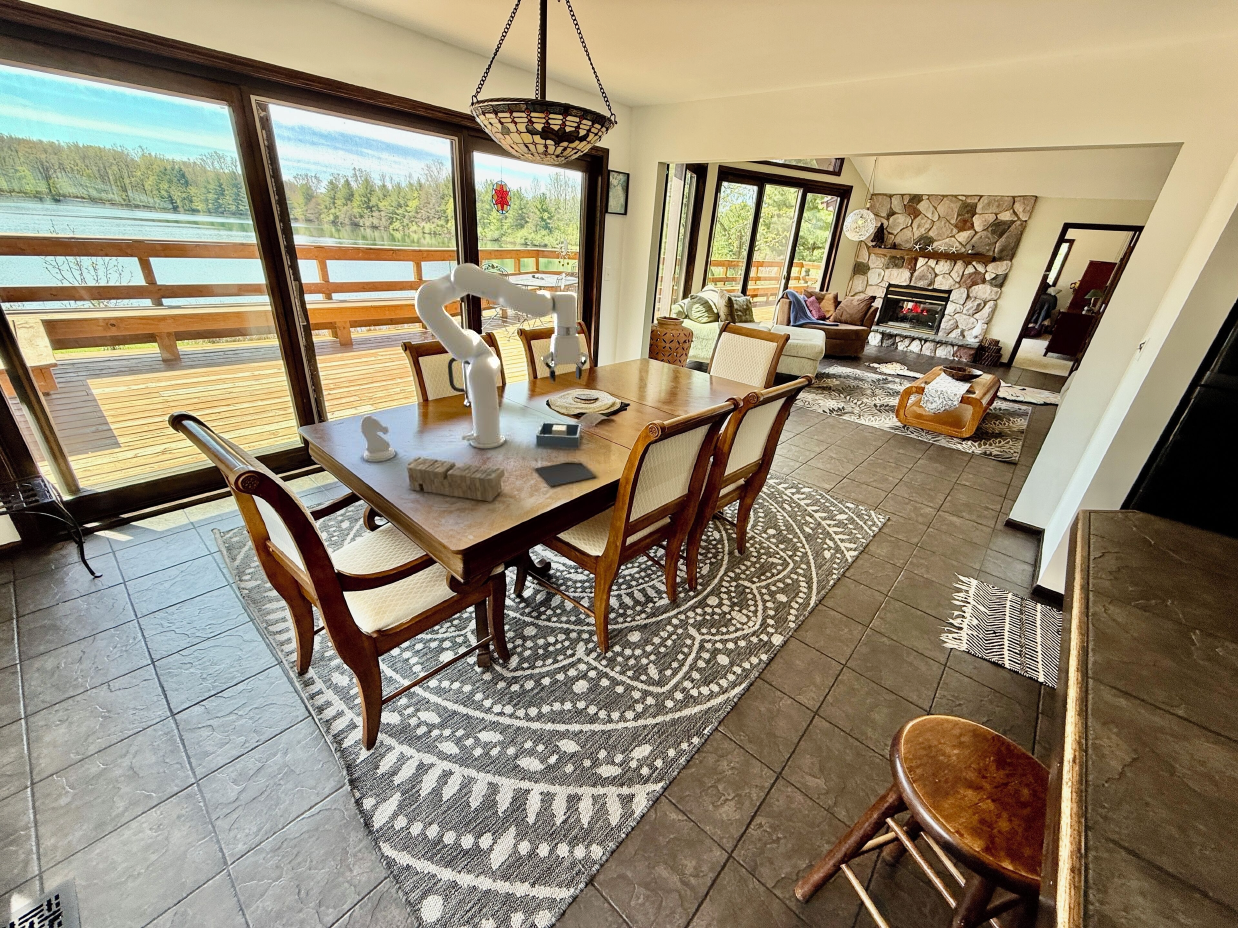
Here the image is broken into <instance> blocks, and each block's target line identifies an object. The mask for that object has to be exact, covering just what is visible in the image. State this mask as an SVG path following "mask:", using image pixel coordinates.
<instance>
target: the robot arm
mask: <svg viewBox="0 0 1238 928" xmlns="http://www.w3.org/2000/svg"><path fill="white" fill-rule="evenodd" d="M468 294H469V295H472V296H475V297H478V298H482V299H484V300H489V301H491V302H495V303H497V304H500V305H501V306H503V307H506V308H509V309H511V310H514V311H516V312H518V313H522V314H525V315H529V316H531V317H535V318H545V317H547V316H549V315H550V314H553V317H554V323H553V324H554V333H552V334H551V339H550V349H549V353H547V354H545V355H544V356H542V357H541V361H542V363H543V365H544V366H545V367H546V368H547V369H548V371H549V372H548V373H549V379H550V381H551V382H553V383H555V382H556V370H555V369H556V367H557V366H562V365H563V366H565V365H574V364H575V365H576V366H575V378H576V379H578V380H582V375H583V368H584V366H585V365H586V364H587V361H588V360H589V358H590V355H589V354H588V353H585V352H584V351H581V344H580V337H579V334H578V332H579V331H581V326H578V324H577V323H578V322H577V321H578V320H577V311H578V310H577V309H578V307H577V306H578V305H577V301H578V298H577V296H576V294H575V293H573V292H565V291H564V292H563V291H562V292H561V291H560V292H555V291H550V290H539V291H533V290H530V289H528V288H525V287H521V286H519V285H517V284H515V283H513V282H511V280H510V279H508V278H507V277H505V276H503V275H500V274H497V273H493V272H491V271H487V270H484V269H482V268H480V267H479V266H478V265H476V264H474V263H471V262H466V263H462V264H461V263H460V264H458V265H456V266H455V267H454V269H453V270H452V271H450V272H449V273H447V274H445V275H443V276H441V277H439V278H437V279H433V280H428V281H425V282H424V283H423V284H421V286H420V287H419V288H418V290H417V292H416V294H415V299H414V300H415V301H414V307H415V310H416V313H417V315H418V317H419V319H420V320H421V321H422V323H423V324H424V325H425V327H427V329H428V330H429V331H430V332H431V333H432V335H434V337H435V338H436V339H437V341H439V343H440V344H441V345H442V346H443V347H444V349H445V350H446V351H447V352H448V354H450V356H451V358H453V357H454V358H455V359H456V360H458V361H457V362H461V361H466V360H468V361H469V362H470V366H469V368H468V371H467V379H468V384H469V389H470V396H471V403H470V404H471V414H472V429H473V430H472V429H471V432H469V433H468V434H460V439H461V441H466V442H469V443H470V445H471V446H473V447H474V448H478V449H494V448H498V447H500V446H502V445H503V444H505V442H506V439H505V436H504V435H503V434H501V424H500V423H501V422H500V412H499V411H500V409H499V393H498V387H497V377H498V376H499V374H500V373H501V370H502V367H501V366H502V365H501V361H500V359H499V357H498V356H497V355H496V354H495V353H494V351H493V350H492V349H491V347H489V345H488V344H487V343H486V342H485V341H484V339H483V338H482V337H481V335H479V334H478V333H477V332H476V331H474V330H472V329H469V328H462V327H461V326H460V325H459V324H458V323H457V322H456V320H455V319H454V318H453V317H452V316H451V315H450V314H449V313H448V312H447V311H446V310H445V309H444V307H445V306H447V305H450V304H451V303H453V302H455V301H457V300H459V299H461V298H462V297H465V296H466V295H468ZM581 356H582V357H581ZM581 358H582V359H581ZM548 360H550V363H549V362H548Z"/></svg>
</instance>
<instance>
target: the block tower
mask: <svg viewBox="0 0 1238 928" xmlns="http://www.w3.org/2000/svg"><path fill="white" fill-rule="evenodd" d="M456 465H457V464H456V462H455V461H448V460H441V459H436V458H429V457H421V456H416V457H415V458H413V459H411V460H410V461H408V462H407V467H406V471H407V476H408V482H409V488H410V490H412V491H421V490H422V489H423V492H425V493H432V494H437V495H438V494H440V495H444V496H450V497H458V498H464V499H471V500H478V501H486V502H488V503H490V502H493V500H494V499H495V497H496V496H497V495H498V494H499V493H500V492H502V490H503V489H502V479H503V478H504V477H505V476H506V474H505V473H506V471H505V468H503V467H498V466H485V465H479V464H472V463H463V464H462V465H461V466H456Z"/></svg>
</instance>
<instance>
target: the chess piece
mask: <svg viewBox="0 0 1238 928" xmlns="http://www.w3.org/2000/svg"><path fill="white" fill-rule="evenodd" d="M360 432H361V434H362V435H363V437H364V439H365V441H366V446H365V447H364V450H365V452H364V453H363V460H365V461H367V462H372V463H373V462H374V463H375V462H383V461H388V460H390V459H392V458H393V457H394V456H395V455H396V452H395V450H394V449H393V448H391V444H390V442H389V441H388V440H387V439H386V438H385V437H384V436H382V435H381V434H383V435H385V436H386V435H387V434H388V433H389V427H388V426H387V425H384V424H383V423H381V422H380V421H379V420H378V418H376V417H373V416H372V414H367V415H364V416H363V417H362V419H361V420H360ZM379 433H381V434H379Z"/></svg>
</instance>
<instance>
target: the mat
mask: <svg viewBox="0 0 1238 928" xmlns="http://www.w3.org/2000/svg"><path fill="white" fill-rule="evenodd" d="M535 471H536V472H537V473H538V474H539V475H540V476H541V477H542V478H543V480H544V481H545V482H546V483H547V484H548V485H549V486H550V488H554V487H558V486H564V485H568V484H573V483H578V482H582V481H587V480H592V479H596V478H597V476H596V475H595V474H594V473H593V472H592V471H591V470H590V469H588V467H587V466H585V465H584V464H583V463H582V462H562V463H556V464H552V465H546V466H541V467H535Z"/></svg>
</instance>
